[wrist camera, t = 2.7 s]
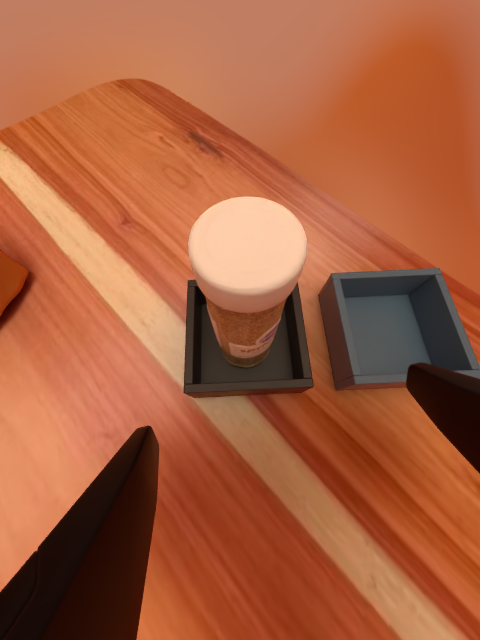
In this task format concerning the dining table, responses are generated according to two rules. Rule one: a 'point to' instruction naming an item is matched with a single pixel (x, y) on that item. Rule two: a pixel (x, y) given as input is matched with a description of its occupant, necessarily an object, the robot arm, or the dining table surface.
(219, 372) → the tray
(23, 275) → the coffee package
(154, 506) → the robot arm
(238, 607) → the dining table surface
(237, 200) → the sprinkles bottle
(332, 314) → the tray
